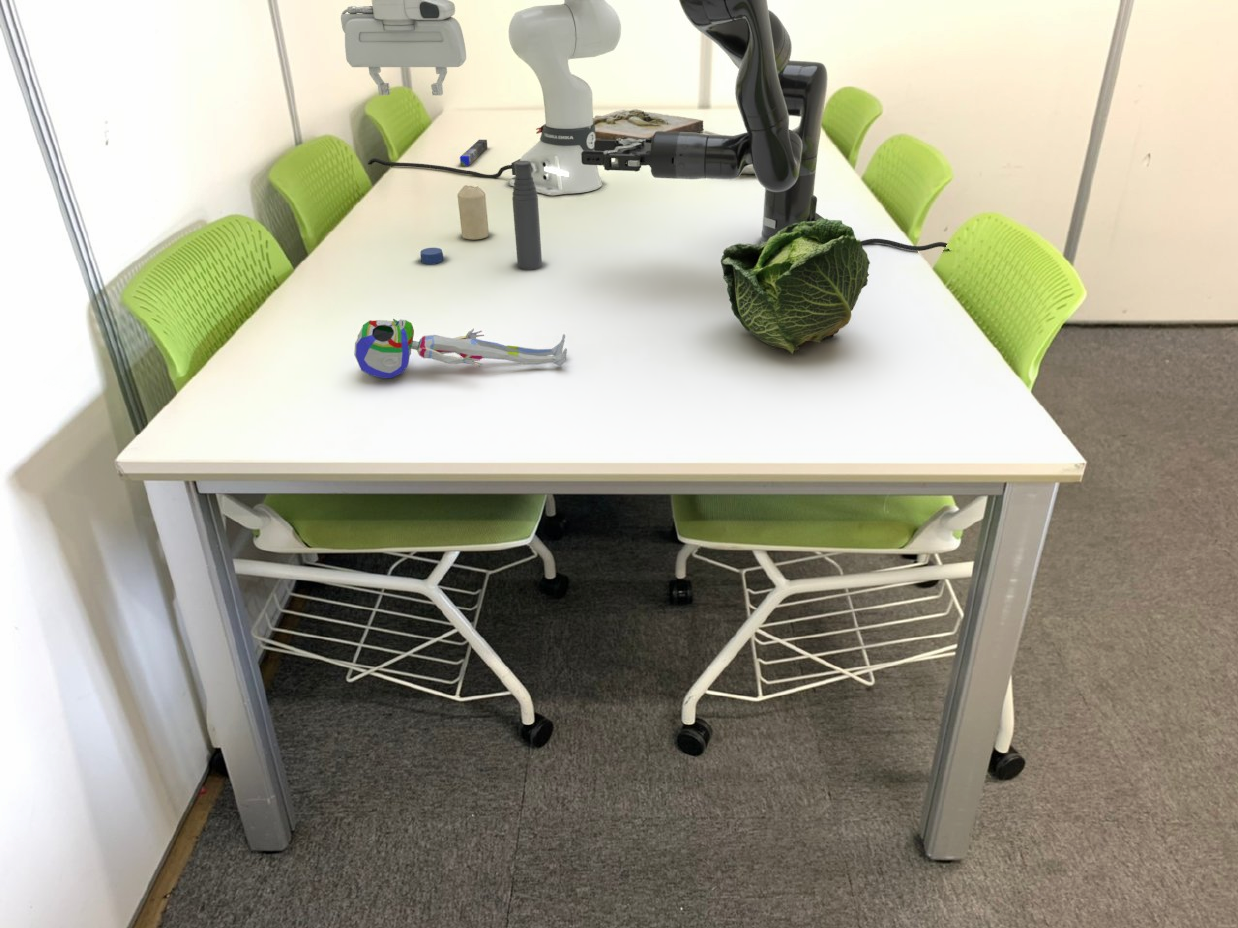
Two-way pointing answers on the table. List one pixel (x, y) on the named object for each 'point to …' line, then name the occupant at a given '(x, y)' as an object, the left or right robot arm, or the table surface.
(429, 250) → the cap
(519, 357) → the toy
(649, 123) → the plaque
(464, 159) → the pillar
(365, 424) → the table surface
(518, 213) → the bottle
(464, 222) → the candle
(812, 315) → the vegetable
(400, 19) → the left robot arm
